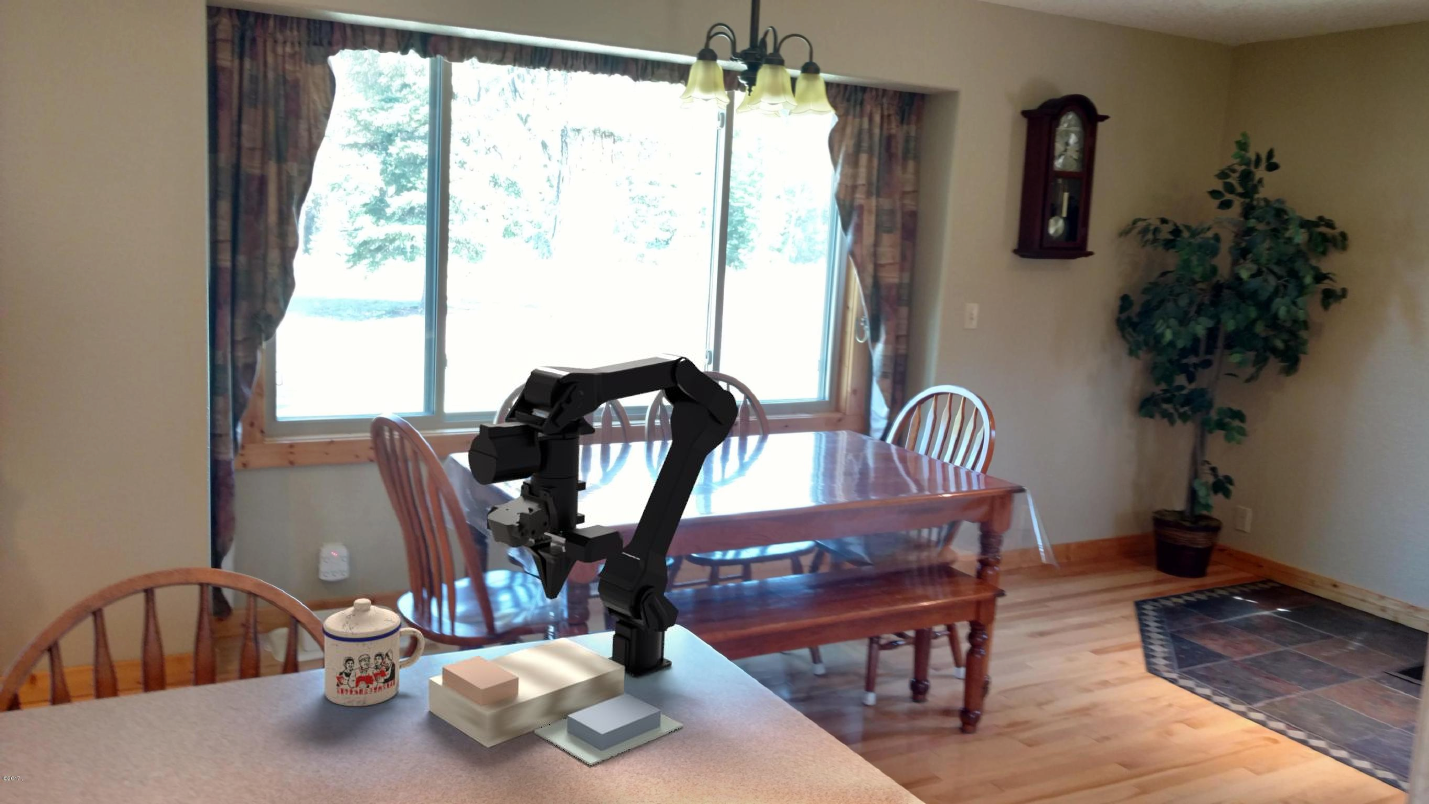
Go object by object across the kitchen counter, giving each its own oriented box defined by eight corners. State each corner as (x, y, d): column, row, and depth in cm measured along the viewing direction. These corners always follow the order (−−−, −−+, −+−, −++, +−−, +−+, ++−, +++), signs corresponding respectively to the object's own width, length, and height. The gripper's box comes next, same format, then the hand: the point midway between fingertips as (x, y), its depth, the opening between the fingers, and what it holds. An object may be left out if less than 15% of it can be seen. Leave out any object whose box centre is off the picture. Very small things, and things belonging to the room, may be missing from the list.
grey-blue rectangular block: (660, 710, 125) (660, 726, 125) (626, 693, 129) (625, 708, 129) (602, 734, 118) (601, 751, 119) (567, 715, 122) (567, 731, 123)
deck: (562, 666, 141) (563, 637, 141) (623, 697, 133) (624, 666, 132) (428, 710, 127) (429, 678, 126) (487, 747, 119) (488, 713, 118)
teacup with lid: (330, 714, 125) (329, 618, 123) (316, 683, 132) (315, 593, 131) (433, 696, 131) (434, 605, 129) (414, 668, 138) (415, 581, 136)
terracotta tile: (478, 671, 129) (478, 655, 129) (518, 693, 123) (518, 677, 123) (442, 682, 125) (442, 666, 125) (481, 706, 120) (481, 689, 120)
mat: (626, 698, 133) (626, 696, 133) (682, 727, 126) (682, 724, 126) (534, 732, 123) (534, 730, 123) (590, 766, 116) (590, 763, 116)
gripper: (451, 468, 128) (449, 593, 130) (555, 500, 116) (552, 637, 119) (524, 456, 136) (521, 573, 139) (628, 484, 124) (623, 612, 127)
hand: (551, 598), depth 131 cm, fingers closed
